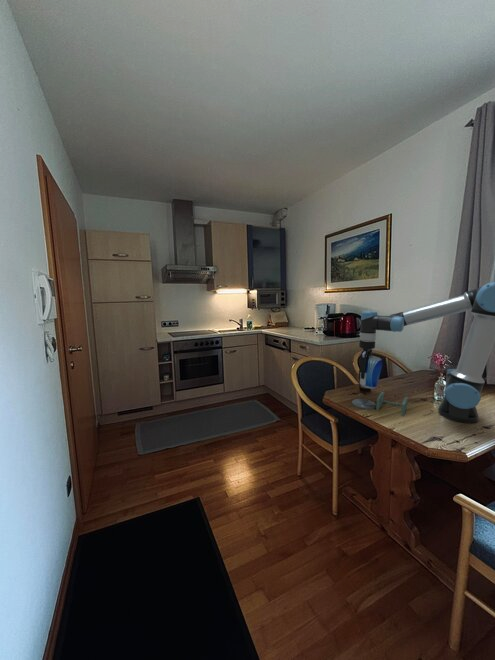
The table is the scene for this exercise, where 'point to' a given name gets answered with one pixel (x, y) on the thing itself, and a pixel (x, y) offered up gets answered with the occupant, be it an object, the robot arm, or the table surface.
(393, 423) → the table surface
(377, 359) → the beer can
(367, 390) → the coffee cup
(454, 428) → the table surface
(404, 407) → the rack
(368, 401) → the flat grey disc
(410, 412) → the table surface
